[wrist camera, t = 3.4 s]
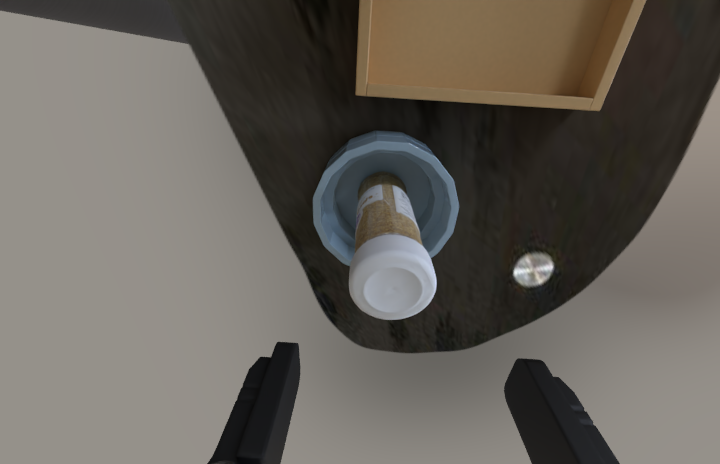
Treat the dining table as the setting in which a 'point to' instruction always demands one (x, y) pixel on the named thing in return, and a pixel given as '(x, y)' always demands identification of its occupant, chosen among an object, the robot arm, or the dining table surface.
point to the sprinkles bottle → (389, 252)
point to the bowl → (394, 155)
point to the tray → (494, 50)
